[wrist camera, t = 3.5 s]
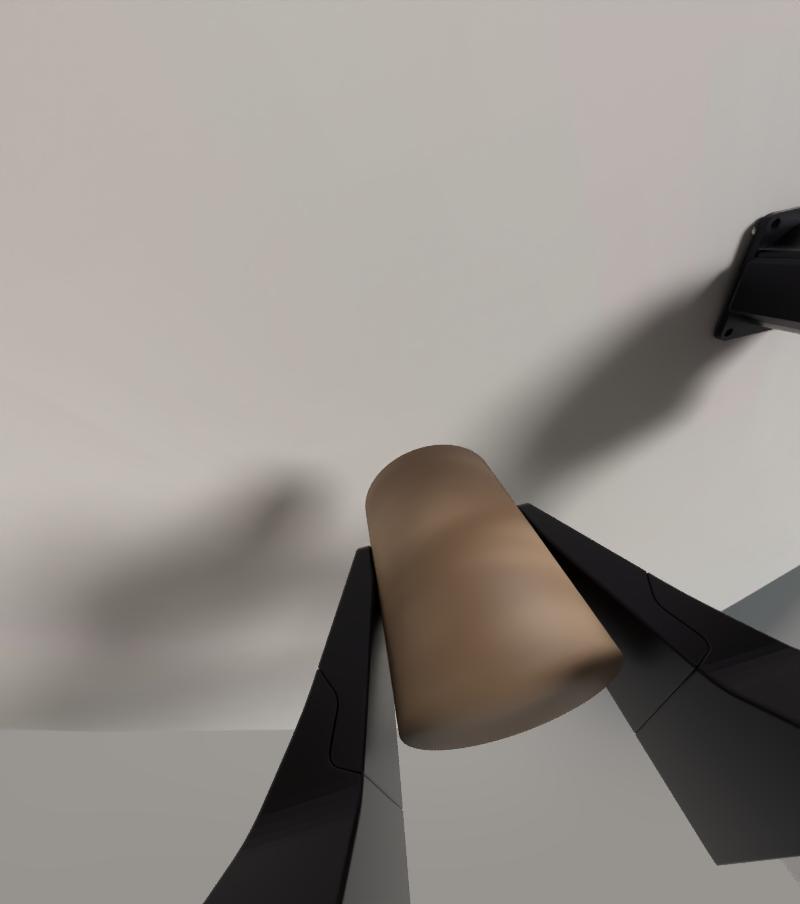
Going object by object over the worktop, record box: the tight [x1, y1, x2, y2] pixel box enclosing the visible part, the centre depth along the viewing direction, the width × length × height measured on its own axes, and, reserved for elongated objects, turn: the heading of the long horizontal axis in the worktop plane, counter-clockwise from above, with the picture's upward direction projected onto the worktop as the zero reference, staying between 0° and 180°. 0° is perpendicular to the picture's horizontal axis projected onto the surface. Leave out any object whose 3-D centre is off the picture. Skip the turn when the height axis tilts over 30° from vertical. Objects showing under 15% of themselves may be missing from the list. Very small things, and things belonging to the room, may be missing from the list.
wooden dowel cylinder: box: [365, 445, 624, 750], centre depth 9 cm, size 5×5×6 cm
